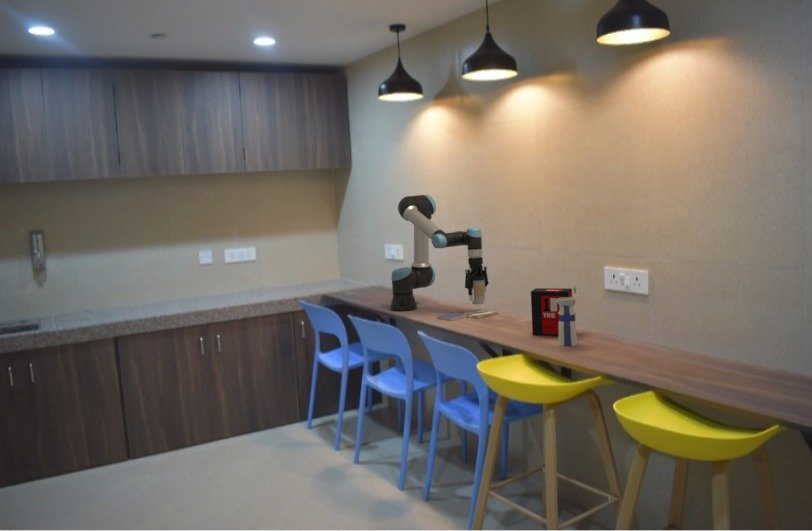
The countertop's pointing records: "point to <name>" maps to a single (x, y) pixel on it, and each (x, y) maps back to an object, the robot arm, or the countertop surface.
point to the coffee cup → (478, 288)
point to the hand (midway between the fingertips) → (477, 299)
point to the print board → (479, 314)
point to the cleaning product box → (546, 310)
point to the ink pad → (451, 316)
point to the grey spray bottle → (567, 321)
